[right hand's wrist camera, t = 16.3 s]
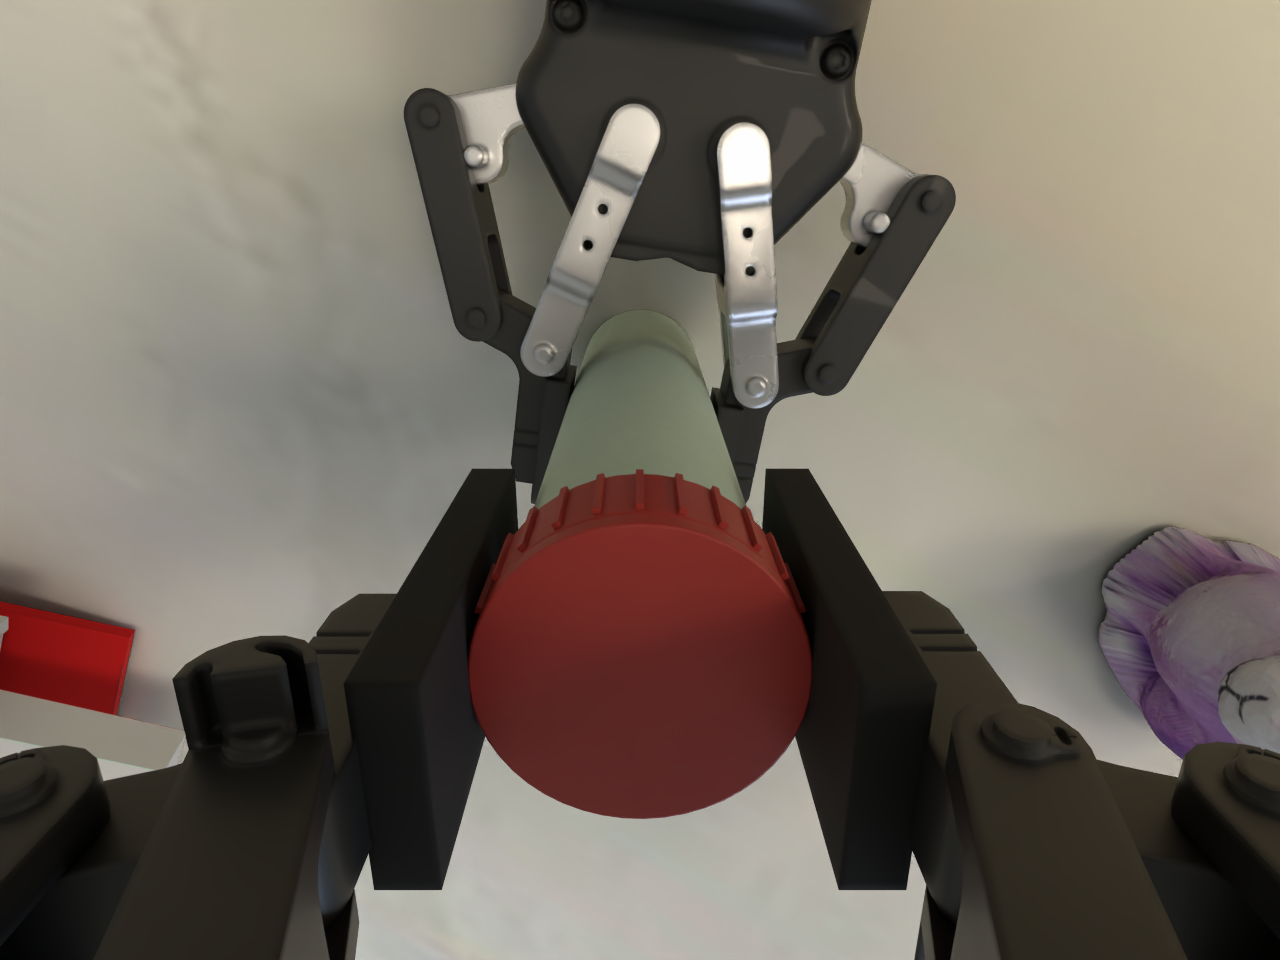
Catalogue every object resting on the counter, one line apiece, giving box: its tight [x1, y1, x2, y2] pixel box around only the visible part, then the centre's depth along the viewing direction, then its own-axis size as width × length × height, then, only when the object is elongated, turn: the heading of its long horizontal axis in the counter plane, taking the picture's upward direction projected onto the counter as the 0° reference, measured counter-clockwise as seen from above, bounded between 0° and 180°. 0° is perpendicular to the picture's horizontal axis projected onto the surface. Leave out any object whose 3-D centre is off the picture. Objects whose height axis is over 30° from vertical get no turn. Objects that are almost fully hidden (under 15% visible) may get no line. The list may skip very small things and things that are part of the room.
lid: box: [468, 469, 813, 819], centre depth 11 cm, size 5×5×2 cm
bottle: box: [534, 310, 746, 509], centre depth 20 cm, size 4×4×19 cm
